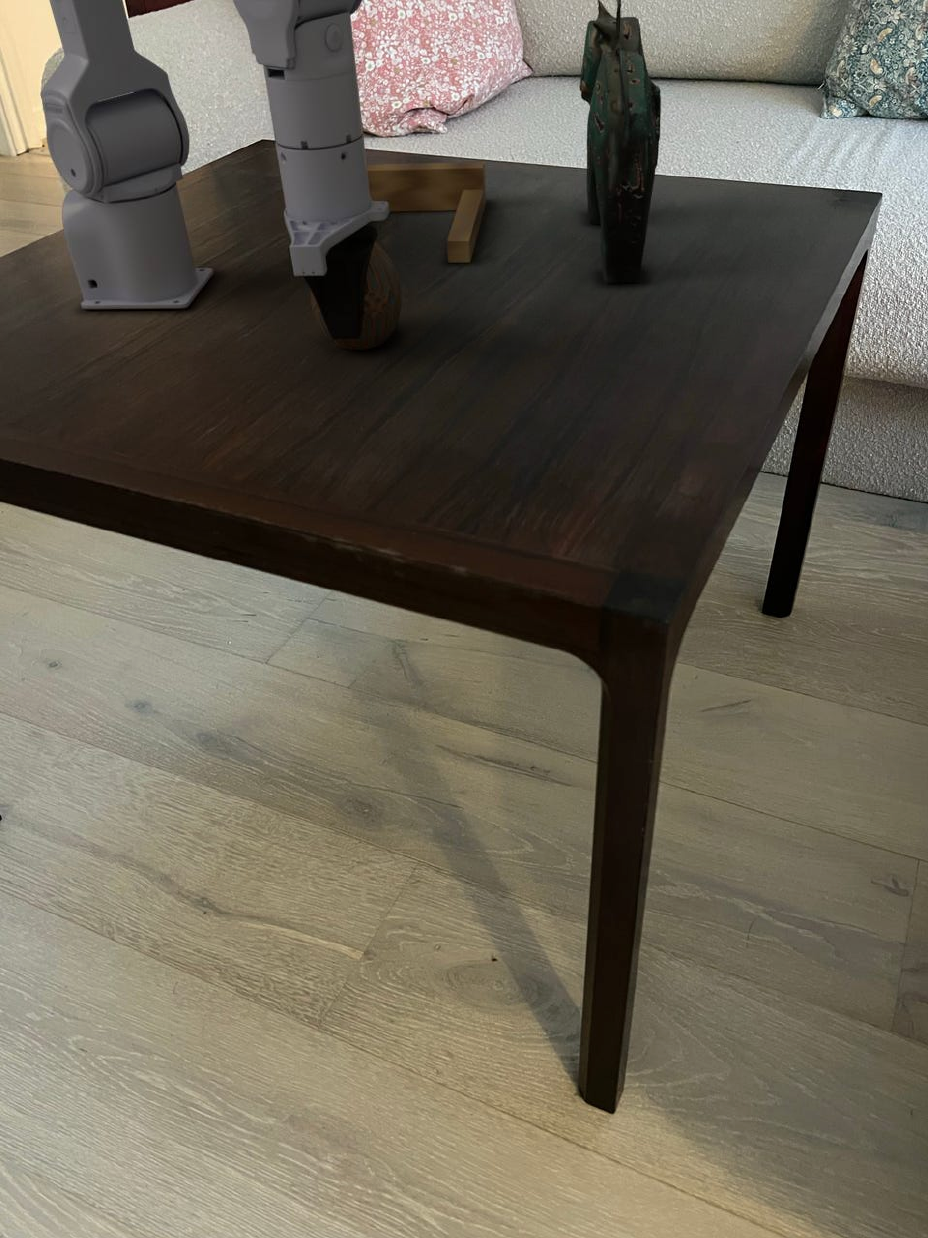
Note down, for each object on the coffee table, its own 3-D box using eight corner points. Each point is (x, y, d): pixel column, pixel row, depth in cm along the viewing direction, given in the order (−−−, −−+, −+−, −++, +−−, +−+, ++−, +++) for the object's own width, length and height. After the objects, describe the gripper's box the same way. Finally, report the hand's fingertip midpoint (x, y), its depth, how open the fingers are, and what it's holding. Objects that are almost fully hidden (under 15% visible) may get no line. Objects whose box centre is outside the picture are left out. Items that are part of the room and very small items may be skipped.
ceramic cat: (575, 209, 100) (579, -30, 87) (642, 206, 100) (655, -34, 87) (587, 288, 85) (594, 14, 72) (665, 285, 84) (686, 8, 72)
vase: (371, 365, 76) (357, 247, 70) (299, 348, 79) (280, 234, 73) (422, 330, 80) (413, 216, 75) (352, 315, 83) (338, 205, 78)
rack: (317, 264, 92) (310, 219, 90) (350, 205, 104) (345, 164, 102) (470, 262, 91) (468, 217, 88) (486, 203, 103) (484, 161, 100)
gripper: (359, 169, 60) (383, 381, 68) (397, 106, 71) (414, 295, 79) (243, 172, 61) (281, 381, 69) (299, 109, 72) (326, 296, 80)
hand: (346, 335), depth 74 cm, fingers closed
